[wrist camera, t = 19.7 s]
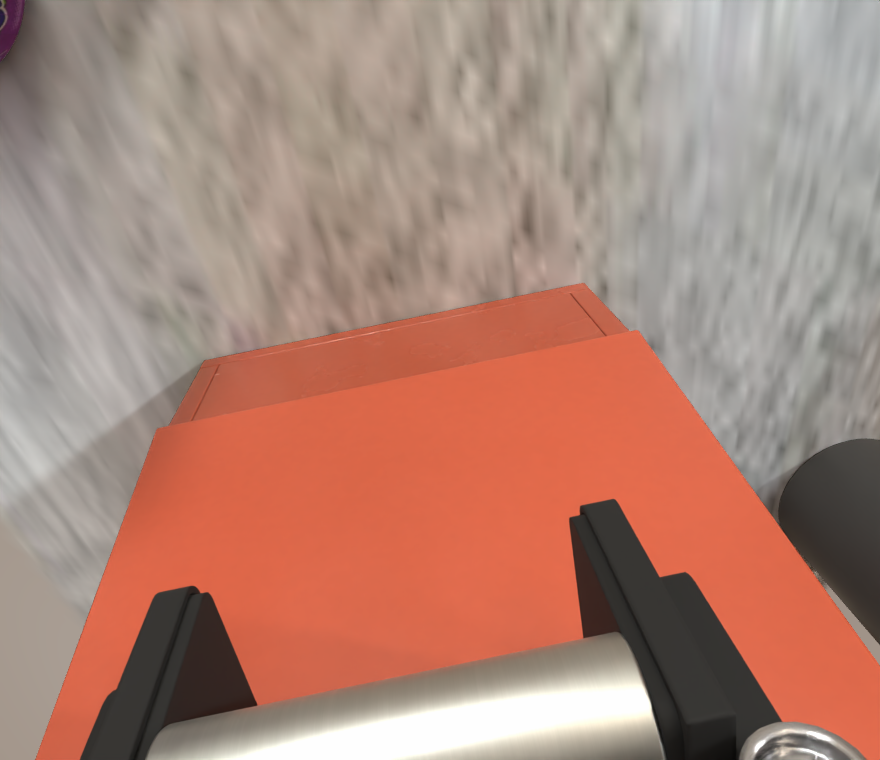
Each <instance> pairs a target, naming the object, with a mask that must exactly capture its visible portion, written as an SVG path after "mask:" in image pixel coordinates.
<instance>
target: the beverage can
mask: <svg viewBox="0 0 880 760" xmlns="http://www.w3.org/2000/svg"><path fill="white" fill-rule="evenodd" d="M24 5H25V0H0V62H1V61H2V60H3V59H4V57H5V56H6V55H7V53H8V52H9V51H10V49H11V47H12V45H13V44H14V42H15V40H16V37H17V35H18V32H19V29H20V26H21V23H22V19H23V13H24Z"/></svg>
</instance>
